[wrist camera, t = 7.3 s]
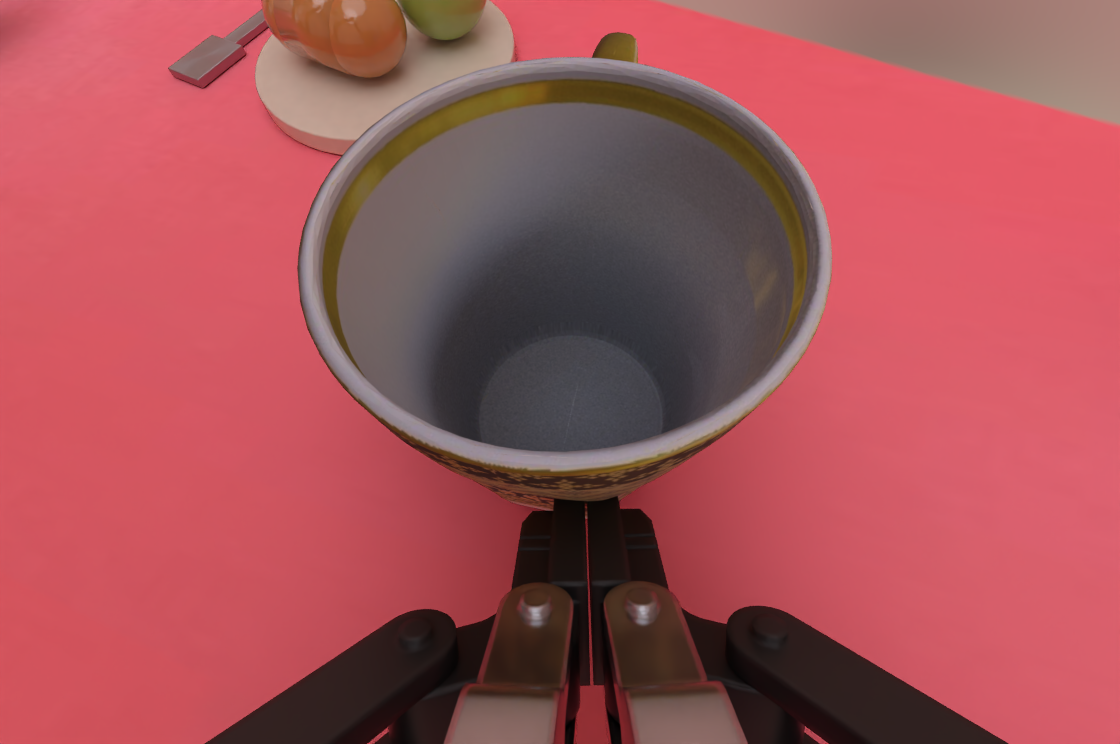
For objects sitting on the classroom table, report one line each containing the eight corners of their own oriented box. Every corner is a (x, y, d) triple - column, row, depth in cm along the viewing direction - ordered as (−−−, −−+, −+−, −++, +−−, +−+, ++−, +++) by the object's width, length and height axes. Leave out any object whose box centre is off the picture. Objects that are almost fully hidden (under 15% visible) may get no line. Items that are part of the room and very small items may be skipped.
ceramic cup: (701, 607, 17) (837, 535, 8) (385, 535, 18) (191, 404, 9) (734, 264, 22) (832, 0, 14) (493, 229, 24) (440, -33, 15)
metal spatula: (203, 88, 29) (197, 79, 28) (173, 76, 29) (167, 67, 29) (340, -21, 33) (337, -30, 33) (312, -29, 34) (308, -39, 33)
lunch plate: (210, 107, 28) (133, -8, 23) (369, -24, 33) (333, -140, 29) (420, 192, 25) (381, 79, 20) (561, 33, 30) (557, -87, 25)
